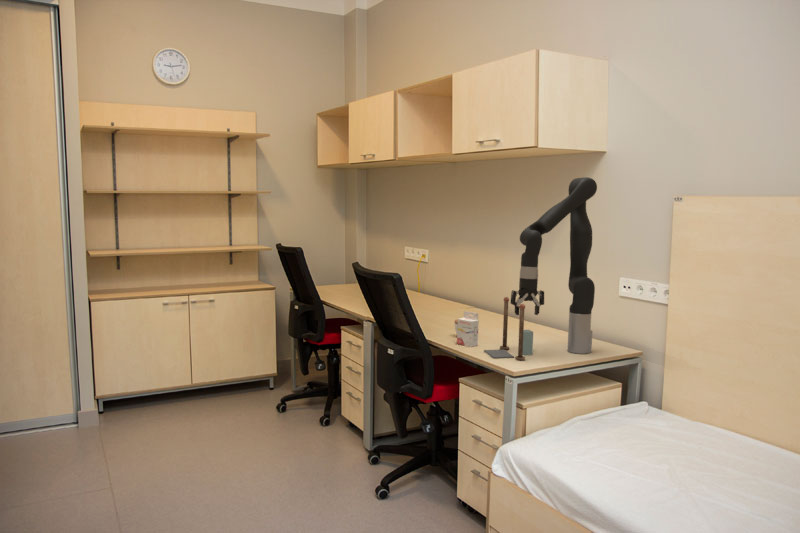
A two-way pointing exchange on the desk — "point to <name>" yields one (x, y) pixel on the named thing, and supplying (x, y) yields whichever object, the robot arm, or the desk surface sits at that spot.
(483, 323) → the desk surface
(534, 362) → the desk surface
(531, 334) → the block
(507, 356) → the mat
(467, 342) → the ink cartridge box
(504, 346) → the post
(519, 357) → the post
